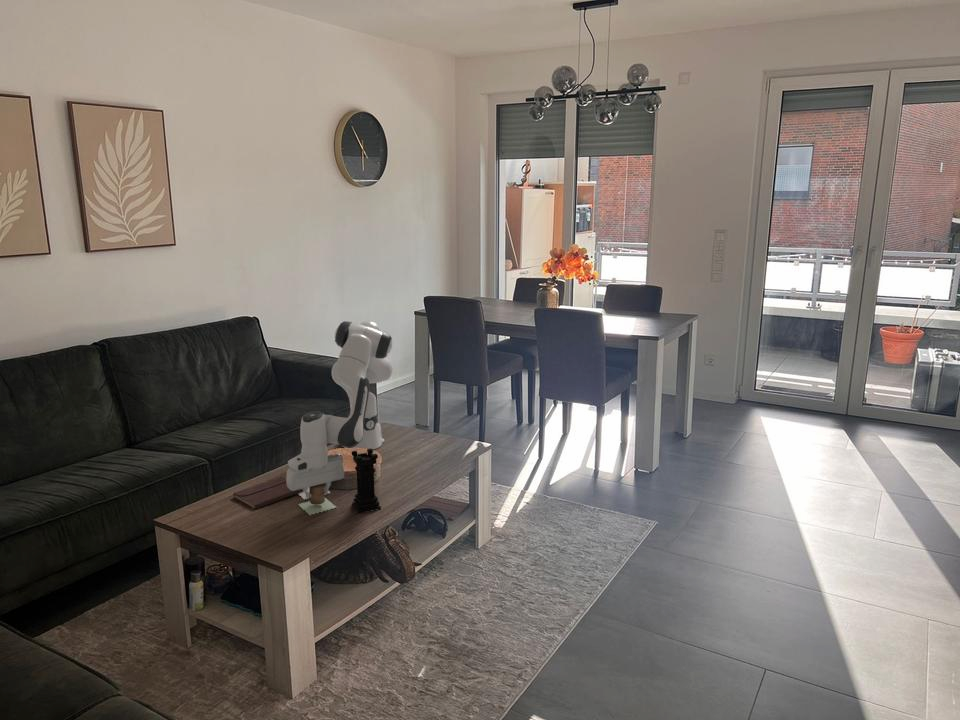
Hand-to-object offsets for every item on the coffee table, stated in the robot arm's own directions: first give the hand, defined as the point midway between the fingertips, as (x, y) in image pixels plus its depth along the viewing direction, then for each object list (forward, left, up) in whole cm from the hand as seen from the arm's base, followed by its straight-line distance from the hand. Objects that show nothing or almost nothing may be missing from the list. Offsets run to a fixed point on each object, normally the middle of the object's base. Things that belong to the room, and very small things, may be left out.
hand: (316, 495), depth 247 cm
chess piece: (+10, +14, -4) cm, 18 cm away
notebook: (-19, -10, -4) cm, 22 cm away
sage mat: (0, 0, -4) cm, 4 cm away
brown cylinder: (0, 0, -2) cm, 2 cm away
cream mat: (-13, +3, -4) cm, 14 cm away
